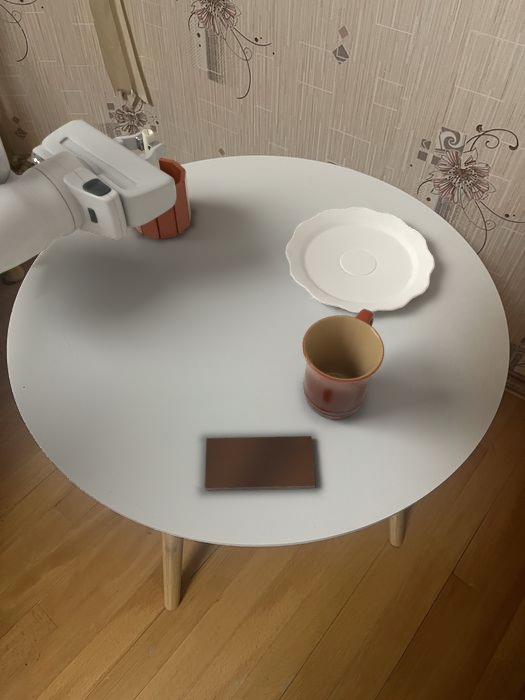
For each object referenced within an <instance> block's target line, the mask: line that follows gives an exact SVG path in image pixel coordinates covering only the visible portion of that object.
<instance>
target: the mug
mask: <svg viewBox="0 0 525 700" xmlns="http://www.w3.org/2000/svg"><path fill="white" fill-rule="evenodd" d="M375 316H376V315H375V313H374V312H372V311H370V310H368V309H362V310H361V311H360V312H359V313H357V315H356V316H351V315H347V314H346V315H345V314H341V315H340V314H339V315H331V316H330V315H329V316H326V317H323V318H321V319H319V320H317V321H316V322H313V324H312V325H310V327H308V329H307V330H306V332H305V334H304V336H303V339H302V345H301V347H302V354H303V357H304V359H305V362H306V367H305V371H304V377H303V383H302V384H303V387H302V388H303V394H304V396H305V401H306V403H307V405H308V406H309V408H310V409H311V410H312V411H313V412H314V413H316V414H317V415H319V416H320V417H323V418H326V419H330V420H343V419H346V418H348V417H350V416H352V415H354V414H355V413H356V412H357V411H358V410H359V409H360V407H361V405H363V403H364V401H365V400H366V397H367V393H368V390H369V385H370V380H371V377H372V376H373V375H374V374H375V373H376V372H377V371H378V370H379V368H380V367H381V366H382V363H383V361H384V358H385V345H384V341H383V339H382V337H381V335H380V334H379V332H378V331H377V329H375V327H374V326H373V324H374V320H375Z"/></svg>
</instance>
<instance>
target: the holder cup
mask: <svg viewBox="0 0 525 700" xmlns="http://www.w3.org/2000/svg"><path fill="white" fill-rule="evenodd" d="M159 166H160V170H162V171H163V172H165V173H166V174H168V175H169V176H171V177H172V178H173V179H174V182H175V188H176V195H177V197H176V202H175V204H174V206H173V207H172V208H170V209H169V210H167V211H166V212H165V213H163V214H161V215H160V216H158V217H157V218H155V219H153V220H151V221H150V222H148V223H146V224H144V225H141V226H138V227H134V228H135V229H136V230H137V231H138V232H139V233H140V234H141V235H142V236H144V237H147V238H151V239H157V240H165V239H169V238H173V237H176V236H178V235H181V234H182V233H183V232H184V231H185V230H187V228H189V227H190V225H191V218H192V211H191V202H190V193H189V185H188V180H187V179H188V178H187V171H186V169H185V167H183V166H182V165H181V164H180V163H179V162H178V161H177V160H176V161H175V160H174V159H171V158H165V157H162V158H160V159H159Z"/></svg>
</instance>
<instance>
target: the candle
mask: <svg viewBox="0 0 525 700" xmlns="http://www.w3.org/2000/svg"><path fill="white" fill-rule="evenodd" d="M141 131H142V135H143V143H144V148H145V150H144V154H145V155H147V153H148V152H149V149H148V144H150V143H152V142H154V141H155V140H156V139H155V134H154V131H153V130H152V129H150V128H144V129H142V130H141ZM155 167H157V168H158V169H160V166H159V160H157V162H156V165H155Z"/></svg>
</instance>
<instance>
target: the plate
mask: <svg viewBox="0 0 525 700" xmlns="http://www.w3.org/2000/svg"><path fill="white" fill-rule="evenodd" d="M293 231H294V232H293V234H292V237H291V238H290V239H289V241H288V242H287V243H286V246H285V253H284V255H285V257H286V259H287V261H288V263H289V264H288V265H289V274H290V276H291V278H292V279H293V281H294V282H295V284H296V283H297V285H299V286H300V287H301V288H303V289H304V290H306V292H307V293H308V294H309V295H310V297H312V298H313V299H314V300H315V301H317V302H319V303H321V304H323V305H327V306H332V307H337V308H340V309H342V310H345V311H348V312H350V313H353V314H358V313H359V312H360V311H361V310H362V309H368V310H370V311H372V312H373V313H374V312H375V313H376V312H379V311H380V312H382V311H383V312H385V311H387V312H388V311H389V312H390V311H391V312H393V311H396V310H399V309H402V308H404V307H406V305H408V303H410V302H411V301H412V300H413V299H416V298H418V297H419V296H421V295H424V293H426V291H427V289H428V288H429V287H430V283H431V275H432V273H433V271H434V269H435V267H436V262H435V257H434V255H433V253H432V252H431V251H430V249H429V247H428V244H427V239H426V237H425V236H423V234H422V233H421V232H420V231H418V230H416V229H415V228H413V227H411V226H410V225H408V224H407V223H406V222H405V221H404V220H403V219H402V218H401V217H398V216H396V215H394V214H392V213H387V212H383V211H377V210H375V209H371V208H368V207H366V206H365V207H364V206H351V207H346V208H328V209H325V210H322V211H320V212H318V213H317V214H316V215H314V216H313V217H311V218H309V219H306V220H303V221H301V222H300V223H299V224H298V225H297V226H296V227H295V228H294V230H293Z"/></svg>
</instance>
